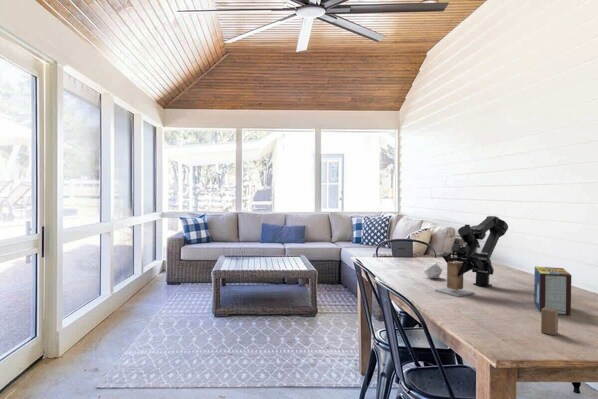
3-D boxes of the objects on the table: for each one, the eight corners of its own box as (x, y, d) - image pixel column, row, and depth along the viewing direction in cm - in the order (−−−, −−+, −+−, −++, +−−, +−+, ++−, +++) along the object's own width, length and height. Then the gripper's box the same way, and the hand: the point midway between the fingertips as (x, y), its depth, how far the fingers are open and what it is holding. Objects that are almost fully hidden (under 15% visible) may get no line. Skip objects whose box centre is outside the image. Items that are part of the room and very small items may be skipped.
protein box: (562, 305, 162) (563, 267, 162) (571, 316, 148) (572, 275, 148) (533, 302, 166) (534, 265, 166) (538, 312, 152) (539, 272, 152)
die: (439, 281, 206) (447, 265, 209) (423, 272, 207) (431, 256, 210) (433, 284, 214) (441, 268, 217) (418, 275, 215) (426, 259, 218)
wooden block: (544, 330, 132) (544, 306, 132) (558, 333, 129) (558, 309, 129) (540, 332, 130) (541, 308, 130) (554, 336, 127) (555, 311, 127)
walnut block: (453, 286, 185) (454, 261, 185) (463, 288, 181) (463, 262, 181) (446, 287, 182) (447, 262, 182) (456, 290, 178) (456, 263, 178)
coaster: (452, 287, 190) (452, 286, 190) (474, 293, 180) (474, 292, 180) (435, 291, 184) (435, 289, 184) (457, 297, 173) (457, 295, 173)
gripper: (444, 235, 191) (428, 260, 186) (479, 239, 175) (463, 266, 170) (454, 250, 195) (439, 274, 190) (489, 255, 179) (474, 282, 174)
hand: (453, 274), depth 181 cm, fingers closed on walnut block, 5 cm apart
